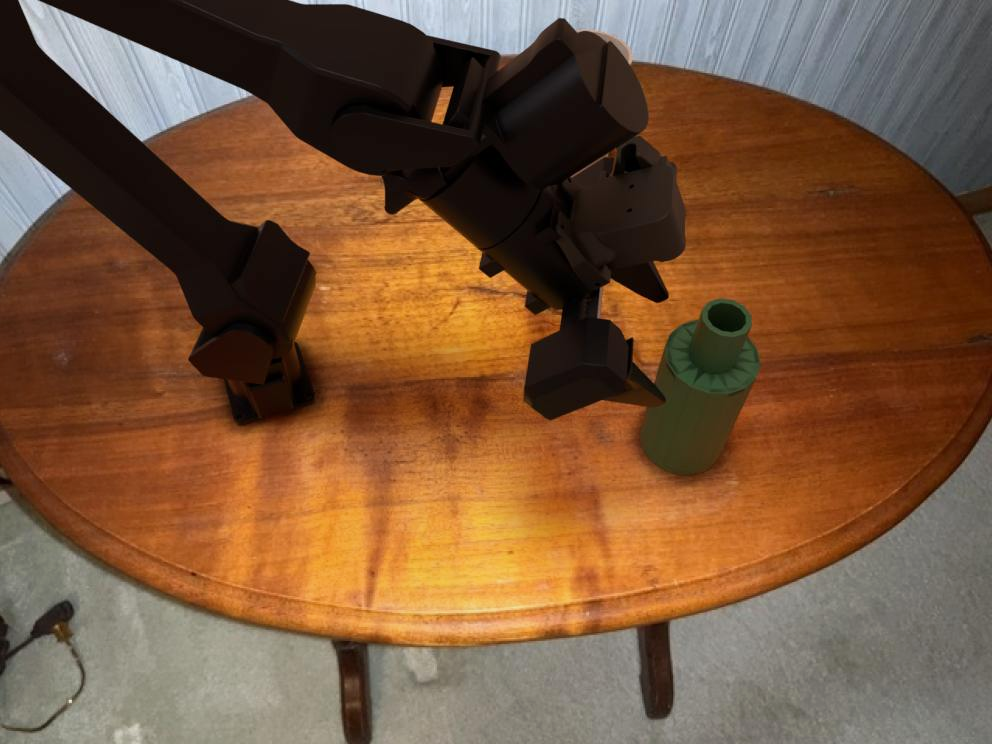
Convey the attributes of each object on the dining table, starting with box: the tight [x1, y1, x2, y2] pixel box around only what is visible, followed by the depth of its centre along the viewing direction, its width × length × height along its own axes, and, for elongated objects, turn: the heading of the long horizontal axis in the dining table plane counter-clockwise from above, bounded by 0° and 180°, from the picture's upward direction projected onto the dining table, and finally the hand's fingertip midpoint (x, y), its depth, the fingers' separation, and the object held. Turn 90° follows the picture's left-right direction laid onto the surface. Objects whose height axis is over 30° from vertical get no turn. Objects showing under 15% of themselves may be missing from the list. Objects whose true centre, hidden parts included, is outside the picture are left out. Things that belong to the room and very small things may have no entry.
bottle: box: [639, 297, 761, 476], centre depth 59 cm, size 6×6×15 cm
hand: (661, 348), depth 56 cm, fingers open, 9 cm apart
